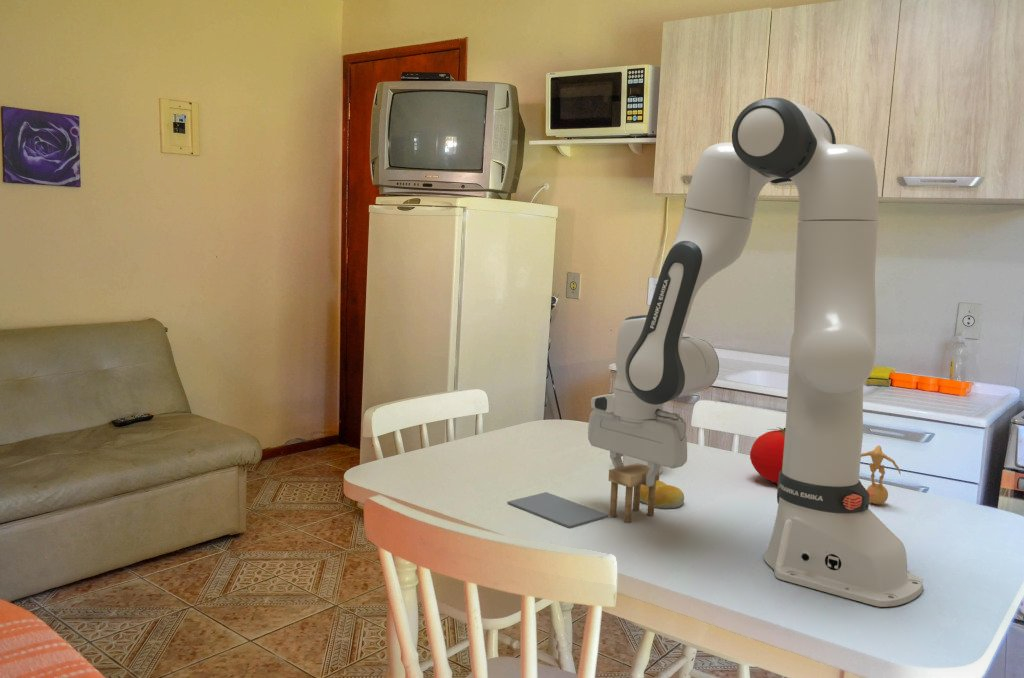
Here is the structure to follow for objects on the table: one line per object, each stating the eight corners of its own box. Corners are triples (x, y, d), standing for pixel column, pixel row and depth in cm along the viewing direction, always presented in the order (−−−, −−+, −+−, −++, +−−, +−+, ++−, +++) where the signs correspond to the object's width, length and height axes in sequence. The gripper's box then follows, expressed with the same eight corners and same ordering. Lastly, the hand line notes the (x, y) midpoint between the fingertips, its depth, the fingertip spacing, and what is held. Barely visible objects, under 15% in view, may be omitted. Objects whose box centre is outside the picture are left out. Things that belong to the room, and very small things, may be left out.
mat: (608, 516, 146) (608, 514, 146) (569, 528, 140) (569, 526, 140) (546, 494, 158) (546, 492, 158) (507, 503, 151) (507, 501, 151)
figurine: (901, 506, 159) (907, 446, 157) (893, 513, 154) (899, 451, 153) (856, 497, 164) (862, 438, 163) (847, 503, 159) (853, 443, 158)
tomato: (816, 495, 164) (821, 439, 163) (745, 485, 169) (749, 431, 168) (818, 479, 176) (822, 427, 174) (751, 470, 181) (755, 419, 179)
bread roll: (666, 513, 150) (667, 492, 150) (629, 500, 157) (630, 479, 157) (693, 504, 156) (695, 484, 155) (656, 492, 163) (657, 473, 162)
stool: (656, 514, 148) (659, 469, 147) (628, 523, 143) (630, 476, 142) (635, 507, 152) (638, 462, 151) (606, 516, 147) (609, 469, 146)
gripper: (697, 413, 140) (692, 492, 141) (607, 393, 155) (603, 465, 156) (674, 417, 135) (669, 499, 137) (584, 397, 150) (580, 470, 152)
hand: (633, 480), depth 147 cm, fingers closed on stool, 5 cm apart
